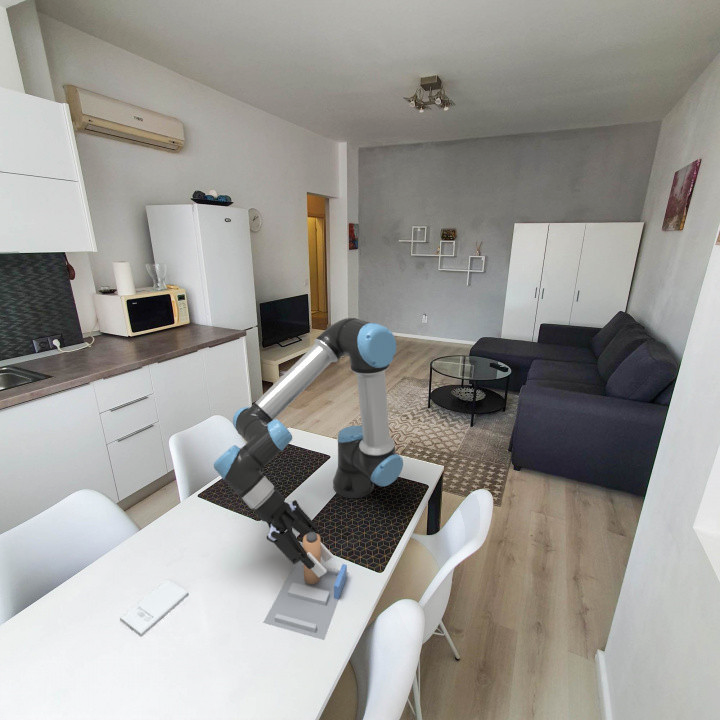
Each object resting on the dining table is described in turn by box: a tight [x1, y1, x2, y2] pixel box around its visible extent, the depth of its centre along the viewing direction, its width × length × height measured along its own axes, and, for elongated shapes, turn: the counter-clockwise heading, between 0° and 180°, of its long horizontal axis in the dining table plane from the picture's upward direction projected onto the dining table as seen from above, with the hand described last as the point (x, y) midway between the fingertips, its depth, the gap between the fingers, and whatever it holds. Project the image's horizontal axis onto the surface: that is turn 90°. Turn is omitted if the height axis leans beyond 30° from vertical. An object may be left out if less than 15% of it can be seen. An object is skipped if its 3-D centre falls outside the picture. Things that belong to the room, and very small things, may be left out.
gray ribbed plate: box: [263, 561, 349, 641], centre depth 95 cm, size 15×19×5 cm
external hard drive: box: [119, 579, 189, 637], centre depth 93 cm, size 2×8×12 cm
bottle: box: [302, 532, 322, 584], centre depth 97 cm, size 4×4×13 cm
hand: (326, 566), depth 97 cm, fingers closed on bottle, 4 cm apart
